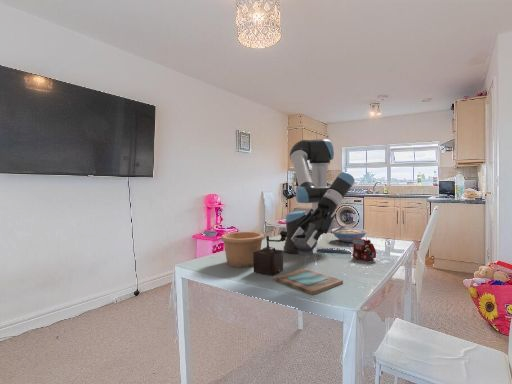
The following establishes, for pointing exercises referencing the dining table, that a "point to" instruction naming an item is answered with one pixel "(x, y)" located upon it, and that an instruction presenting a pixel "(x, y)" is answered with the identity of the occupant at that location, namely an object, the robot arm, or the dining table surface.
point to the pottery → (241, 247)
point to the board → (308, 281)
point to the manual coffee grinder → (269, 258)
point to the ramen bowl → (348, 233)
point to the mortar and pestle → (305, 241)
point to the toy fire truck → (363, 249)
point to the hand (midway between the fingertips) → (300, 243)
